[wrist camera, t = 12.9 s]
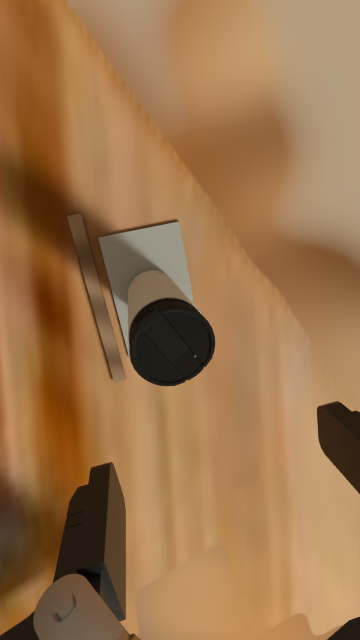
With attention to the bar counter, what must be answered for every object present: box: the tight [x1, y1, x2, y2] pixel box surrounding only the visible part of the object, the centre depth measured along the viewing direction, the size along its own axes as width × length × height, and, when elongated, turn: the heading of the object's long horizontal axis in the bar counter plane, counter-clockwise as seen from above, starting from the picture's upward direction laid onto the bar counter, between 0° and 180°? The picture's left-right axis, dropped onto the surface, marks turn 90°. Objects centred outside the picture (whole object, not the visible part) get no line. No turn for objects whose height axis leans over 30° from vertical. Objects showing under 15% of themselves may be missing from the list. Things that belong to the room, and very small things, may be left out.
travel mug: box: [128, 270, 215, 386], centre depth 31 cm, size 6×7×20 cm
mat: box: [98, 222, 194, 358], centre depth 40 cm, size 16×10×1 cm, turn 11°
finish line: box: [67, 213, 126, 383], centre depth 40 cm, size 22×2×1 cm, turn 11°
